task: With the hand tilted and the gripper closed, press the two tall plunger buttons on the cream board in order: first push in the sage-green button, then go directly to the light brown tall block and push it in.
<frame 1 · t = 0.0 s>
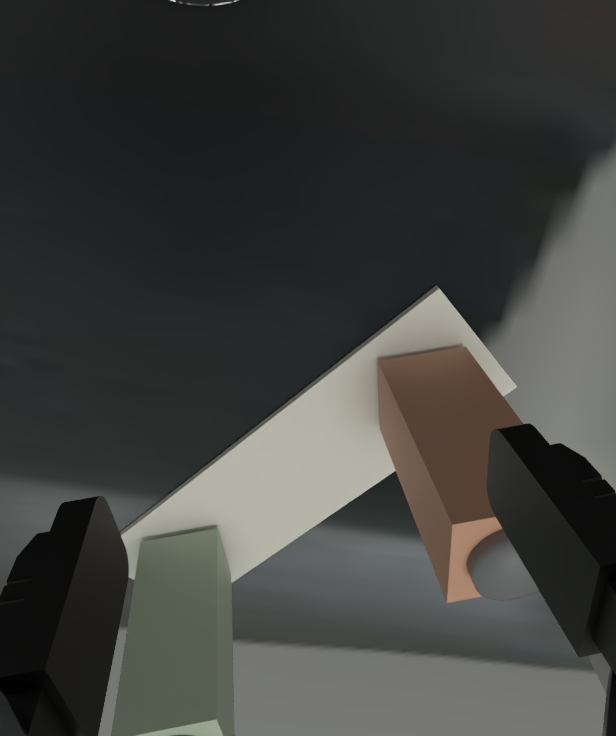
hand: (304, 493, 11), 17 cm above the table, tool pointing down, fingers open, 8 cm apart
button board: (294, 472, 35), on the table
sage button: (182, 648, 31), point 7 cm above the table, slide at 0.0 cm
light brown tall block: (460, 463, 26), point 7 cm above the table, slide at 0.0 cm
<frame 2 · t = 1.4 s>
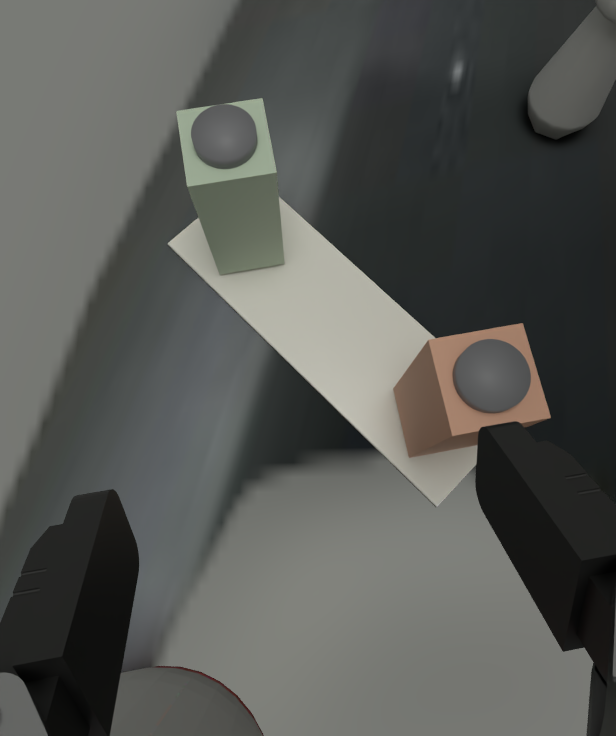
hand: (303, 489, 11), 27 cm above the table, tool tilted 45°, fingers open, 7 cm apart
button board: (336, 327, 41), on the table
salt shaker: (551, 119, 46), on the table
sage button: (237, 194, 36), point 7 cm above the table, slide at 0.0 cm
light brown tall block: (459, 399, 32), point 7 cm above the table, slide at 0.0 cm
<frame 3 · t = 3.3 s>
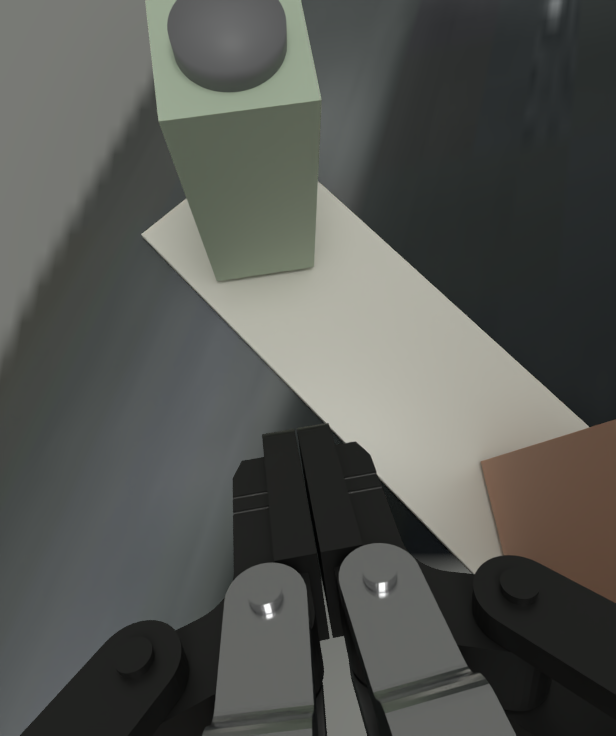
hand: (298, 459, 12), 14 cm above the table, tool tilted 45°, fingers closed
button board: (390, 363, 27), on the table
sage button: (247, 154, 22), point 7 cm above the table, slide at 0.0 cm
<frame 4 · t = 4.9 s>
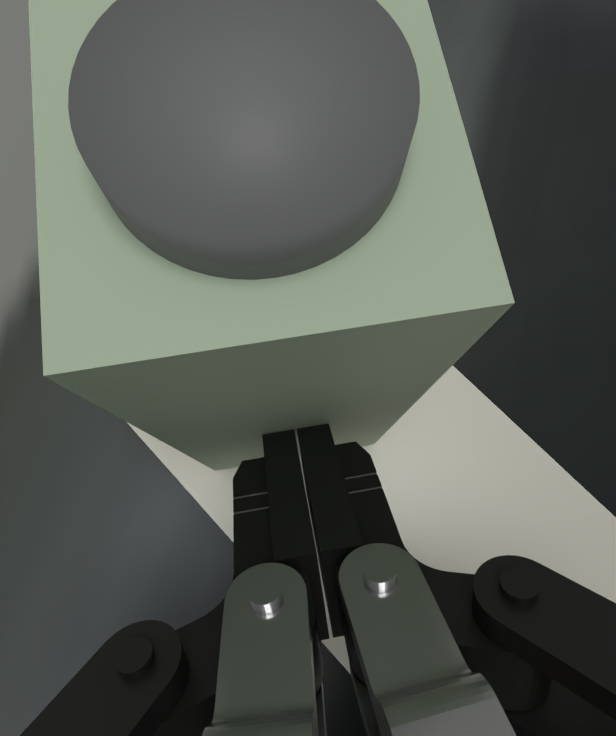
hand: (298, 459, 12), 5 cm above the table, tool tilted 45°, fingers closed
button board: (503, 611, 16), on the table
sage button: (273, 308, 11), point 7 cm above the table, slide at 0.0 cm, touching gripper
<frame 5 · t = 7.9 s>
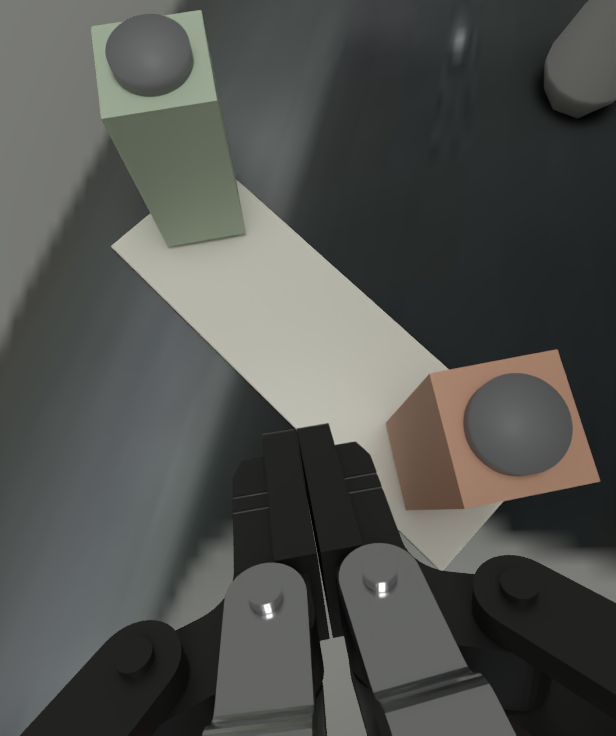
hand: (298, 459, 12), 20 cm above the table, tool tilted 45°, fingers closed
button board: (316, 347, 33), on the table
salt shaker: (571, 95, 38), on the table
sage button: (180, 142, 29), point 7 cm above the table, slide at 2.6 cm
light brown tall block: (469, 444, 25), point 7 cm above the table, slide at 0.0 cm
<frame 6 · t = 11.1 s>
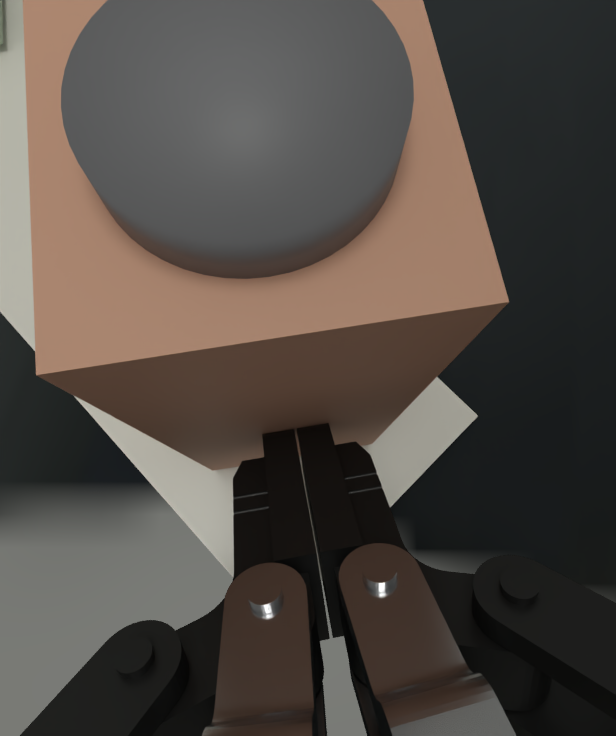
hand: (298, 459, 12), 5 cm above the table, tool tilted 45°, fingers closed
button board: (102, 228, 20), on the table
light brown tall block: (270, 308, 11), point 7 cm above the table, slide at 1.2 cm, touching gripper
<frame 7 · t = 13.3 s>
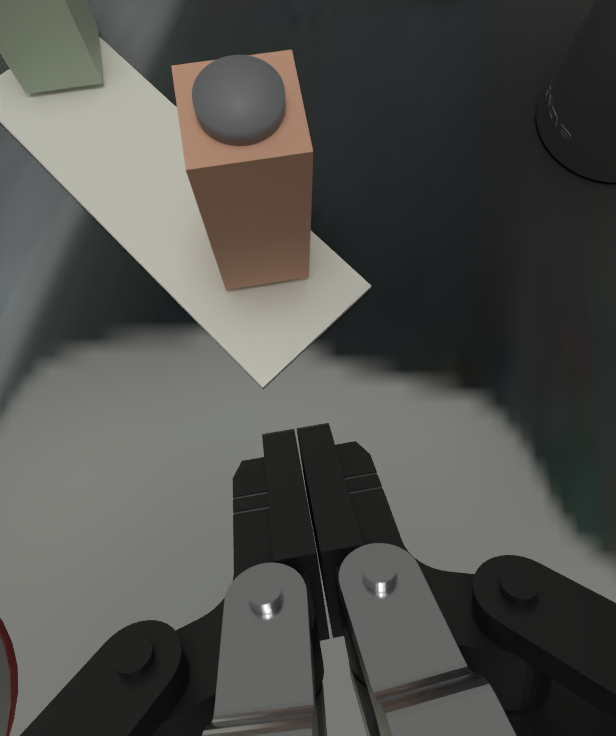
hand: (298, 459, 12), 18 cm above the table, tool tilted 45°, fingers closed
button board: (164, 189, 35), on the table
light brown tall block: (252, 186, 27), point 7 cm above the table, slide at 2.6 cm
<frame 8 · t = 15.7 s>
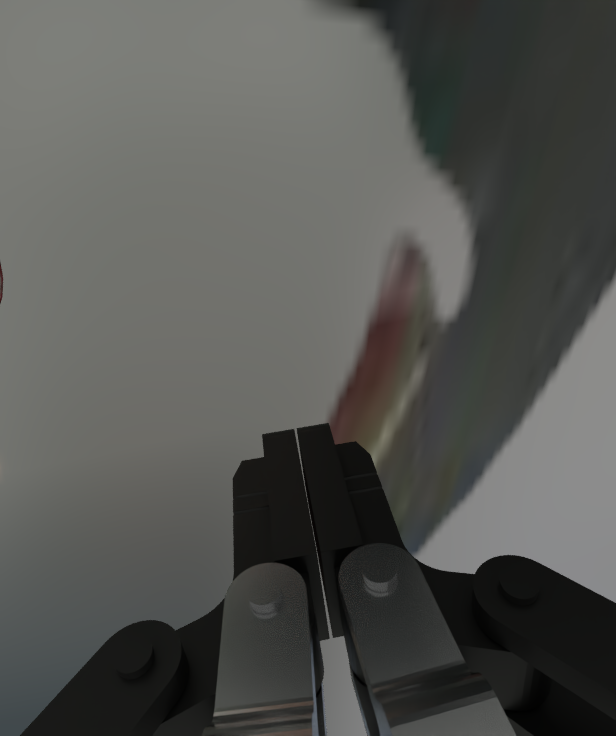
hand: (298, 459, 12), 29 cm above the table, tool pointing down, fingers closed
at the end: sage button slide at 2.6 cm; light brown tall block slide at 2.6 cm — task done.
